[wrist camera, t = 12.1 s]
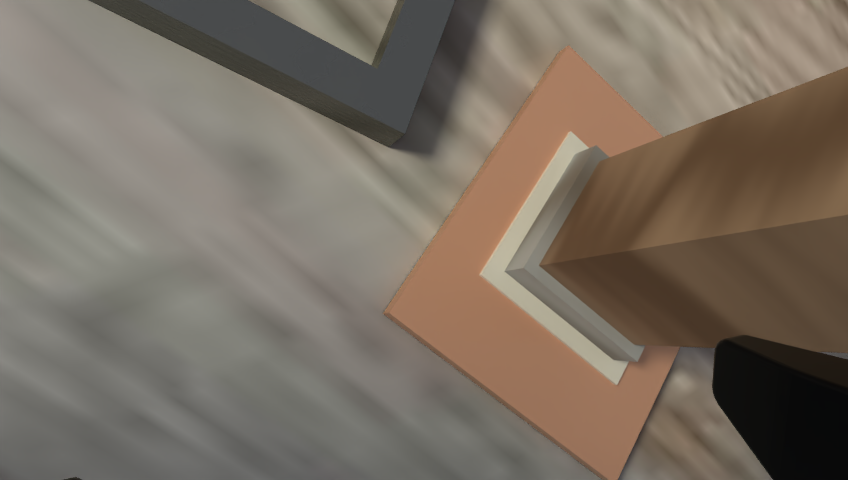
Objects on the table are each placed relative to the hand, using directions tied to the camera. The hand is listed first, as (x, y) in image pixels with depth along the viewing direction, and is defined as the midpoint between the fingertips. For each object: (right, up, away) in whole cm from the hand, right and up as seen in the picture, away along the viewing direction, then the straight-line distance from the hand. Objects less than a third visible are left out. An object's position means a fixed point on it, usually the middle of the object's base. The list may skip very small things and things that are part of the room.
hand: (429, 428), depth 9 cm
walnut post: (+6, +2, +13) cm, 15 cm away
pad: (+6, +2, +14) cm, 15 cm away
